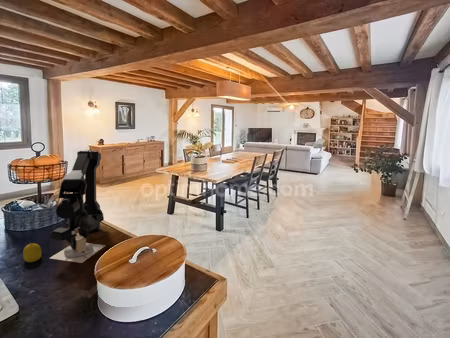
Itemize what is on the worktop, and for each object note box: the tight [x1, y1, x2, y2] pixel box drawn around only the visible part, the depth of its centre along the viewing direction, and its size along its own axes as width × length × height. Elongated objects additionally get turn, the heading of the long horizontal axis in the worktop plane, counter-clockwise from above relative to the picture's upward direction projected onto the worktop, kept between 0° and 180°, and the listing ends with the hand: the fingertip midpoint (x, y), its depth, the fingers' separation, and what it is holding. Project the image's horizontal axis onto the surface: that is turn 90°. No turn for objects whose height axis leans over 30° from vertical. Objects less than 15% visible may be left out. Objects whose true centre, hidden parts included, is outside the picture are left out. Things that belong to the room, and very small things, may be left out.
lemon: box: [22, 242, 43, 263], centre depth 96 cm, size 6×6×8 cm
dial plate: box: [49, 242, 106, 264], centre depth 103 cm, size 14×14×2 cm
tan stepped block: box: [63, 232, 93, 257], centre depth 102 cm, size 10×10×6 cm
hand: (78, 246), depth 102 cm, fingers closed on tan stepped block, 4 cm apart
